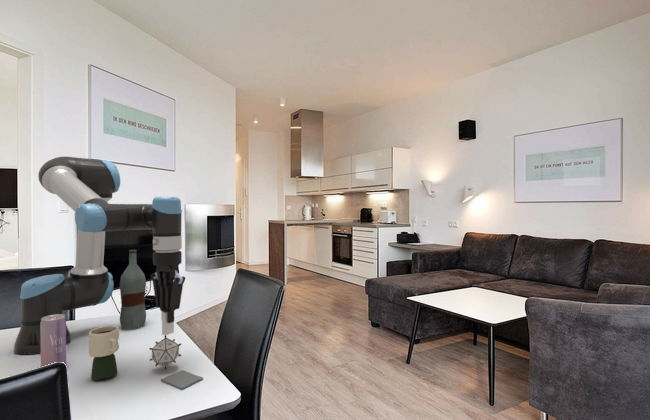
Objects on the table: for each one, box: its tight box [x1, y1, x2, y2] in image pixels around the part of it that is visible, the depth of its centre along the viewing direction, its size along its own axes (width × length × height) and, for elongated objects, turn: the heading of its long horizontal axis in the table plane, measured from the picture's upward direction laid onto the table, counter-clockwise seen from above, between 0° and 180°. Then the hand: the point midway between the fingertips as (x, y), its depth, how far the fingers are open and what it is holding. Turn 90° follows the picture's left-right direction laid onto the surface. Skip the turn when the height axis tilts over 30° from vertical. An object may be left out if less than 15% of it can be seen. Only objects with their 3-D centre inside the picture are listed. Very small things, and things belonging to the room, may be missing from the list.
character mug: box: [88, 325, 120, 381], centre depth 100 cm, size 11×7×13 cm, turn 60°
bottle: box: [119, 249, 147, 331], centre depth 142 cm, size 9×9×30 cm
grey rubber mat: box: [160, 369, 204, 391], centre depth 97 cm, size 9×7×1 cm
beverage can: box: [40, 313, 67, 368], centre depth 105 cm, size 6×6×15 cm
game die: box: [148, 335, 182, 370], centre depth 104 cm, size 9×8×10 cm
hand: (167, 333), depth 104 cm, fingers closed
